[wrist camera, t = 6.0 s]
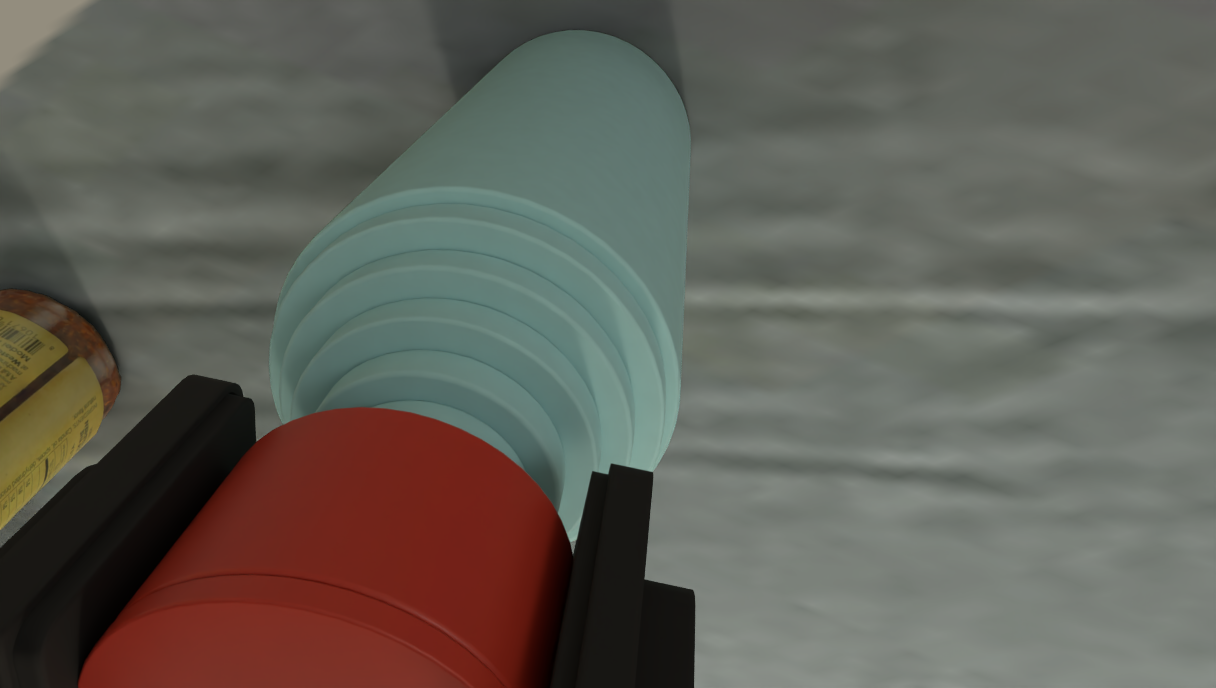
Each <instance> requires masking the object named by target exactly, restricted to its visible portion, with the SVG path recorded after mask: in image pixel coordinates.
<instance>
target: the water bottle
mask: <svg viewBox="0 0 1216 688" xmlns="http://www.w3.org/2000/svg"><path fill="white" fill-rule="evenodd" d="M690 155H691V136H690V126H689V122H688V118H687V113H686V110H685V108H684V105H683V102H682V100H681V97H680V95H679V94H678V92H677V90H676V88H675V86H674V84H673V83H672V82H671V80H670V79H669V77H668V76H667V75H666V73H665V72H664V71H663V70H662V69H661V68H660V67H659V66H658V65H657V63H656V62H655V61H654V60H652V59H651V58H650V57H649V56H647V55H646V54H645V53H644V52H642V51H641V50H639V49H638V48H636V47H634V46H633V45H631V44H630V43H628V42H625V41H623V40H621V39H619V38H616V37H614V36H610V35H607V34H603V33H600V32H593V31H586V30H566V31H559V32H553V33H549V34H546V35H543V36H539V37H537V38H535V39H532V40H530V41H528V42H526V43H524V44H522V45H521V46H519V47H518V48H516V49H515V50H513V51H512V52H511V53H510V54H508V55H507V56H506V57H505V58H504V59H503V60H501V61H500V62H499V63H498V64H497V65H496V66H495V67H494V68H493V69H492V70H491V71H490V72H489V73H488V74H487V75H486V76H484V77H483V78H482V79H481V80H480V81H479V82H478V83H477V84H476V85H475V86H474V87H473V88H472V89H471V90H470V91H469V92H467V93H466V94H465V95H464V96H463V97H462V98H461V99H460V100H459V101H458V102H457V103H456V104H455V105H454V106H453V107H452V108H451V109H449V110H448V111H447V112H446V113H445V114H444V115H443V116H442V117H441V118H440V119H439V120H438V121H437V122H436V123H435V124H434V125H433V126H431V127H430V128H429V129H428V130H427V131H426V132H425V133H424V134H423V135H422V136H421V137H420V138H419V139H418V140H417V141H416V142H414V143H413V144H412V145H411V146H410V147H409V148H408V149H407V150H406V151H405V152H404V153H403V154H402V155H401V156H400V157H399V158H398V159H396V160H395V161H394V162H393V163H392V164H391V165H390V166H389V167H388V168H387V169H386V170H385V171H384V172H383V173H382V174H381V175H379V176H378V177H377V178H376V179H375V180H374V181H373V182H372V183H371V184H370V185H369V186H368V187H367V188H366V189H365V190H364V191H363V192H361V193H360V194H359V195H358V196H357V197H356V198H355V199H354V200H353V201H352V202H351V203H350V204H349V205H348V206H347V207H346V208H344V209H343V210H342V211H341V212H340V213H339V214H338V215H337V216H336V217H335V218H334V219H333V220H332V221H331V222H330V223H329V224H328V225H326V226H325V227H324V228H323V229H322V230H321V231H320V232H319V233H318V234H317V235H316V236H315V237H314V238H313V239H312V240H311V242H310V243H309V244H308V245H307V246H306V248H305V249H304V250H303V251H302V252H301V253H300V255H299V256H298V258H297V260H296V261H295V263H294V265H293V266H292V268H291V270H290V271H289V273H288V275H287V277H286V280H285V283H284V285H283V288H282V290H281V293H280V295H279V299H278V304H277V309H276V313H275V318H274V326H273V331H272V336H271V340H270V352H269V373H270V383H271V390H272V394H273V398H274V402H275V406H276V410H277V412H278V415H279V417H280V420H281V422H282V425H284V424H286V423H288V422H290V421H292V420H295V419H298V418H301V417H304V416H307V415H310V414H313V413H316V412H322V411H327V410H332V409H338V408H353V407H371V408H387V409H394V410H400V411H406V412H412V413H416V414H419V415H423V416H427V417H431V418H434V419H437V420H440V421H443V422H445V423H448V424H450V425H453V426H456V427H458V428H461V429H463V430H465V431H467V432H469V433H470V434H472V435H474V436H476V437H478V438H480V439H482V440H484V441H485V442H487V443H489V444H490V445H492V446H493V447H495V448H496V449H498V450H499V451H501V452H503V453H504V454H505V455H506V456H508V457H509V458H510V459H511V460H513V461H514V462H515V463H516V464H518V465H519V466H520V467H521V468H522V469H523V470H524V471H525V472H526V473H527V474H528V475H529V476H530V477H531V478H532V479H533V480H534V481H535V482H536V483H537V484H538V485H539V486H540V488H541V489H542V490H543V492H544V493H545V494H546V496H547V497H548V498H549V500H550V501H551V502H552V504H553V506H554V508H555V509H556V511H557V513H558V515H559V516H560V518H561V520H562V523H563V525H564V528H565V530H566V533H567V535H568V538H569V540H570V542H572V541H574V540H577V536H578V531H579V527H580V522H581V518H582V514H583V509H584V505H585V500H586V496H587V491H588V487H589V482H590V478H591V474H592V471H595V472H599V473H604V474H608V472H609V468H610V465H611V463H613V464H617V465H622V466H627V467H632V468H636V469H641V470H646V471H650V472H653V470H654V469H655V468H656V467H657V465H658V464H659V462H660V460H661V458H662V456H663V454H664V453H665V451H666V449H667V447H668V445H669V442H670V440H671V437H672V434H673V431H674V428H675V426H676V421H677V416H678V410H679V405H680V390H681V367H682V343H683V320H684V296H685V273H686V249H687V226H688V202H689V179H690Z"/></svg>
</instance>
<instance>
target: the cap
mask: <svg viewBox="0 0 1216 688" xmlns="http://www.w3.org/2000/svg"><path fill="white" fill-rule="evenodd" d="M572 564H573V554H572V550H571V545H570V540H569V538H568V535H567V533H566V530H565V528H564V525H563V523H562V520H561V518H560V516H559V515H558V513H557V511H556V509H555V508H554V506H553V504H552V502H551V501H550V500H549V498H548V497H547V496H546V494H545V493H544V492H543V490H542V489H541V488H540V486H539V485H538V484H537V483H536V482H535V481H534V480H533V479H532V478H531V477H530V476H529V475H528V474H527V473H526V472H525V471H524V470H523V469H522V468H521V467H520V466H519V465H518V464H516V463H515V462H514V461H513V460H511V459H510V458H509V457H508V456H506V455H505V454H504V453H503V452H501V451H499V450H498V449H496V448H495V447H493V446H492V445H490V444H489V443H487V442H485V441H484V440H482V439H480V438H478V437H476V436H474V435H472V434H470V433H469V432H467V431H465V430H463V429H461V428H458V427H456V426H453V425H450V424H448V423H445V422H443V421H440V420H437V419H434V418H431V417H427V416H423V415H419V414H416V413H412V412H406V411H400V410H394V409H387V408H371V407H353V408H338V409H332V410H327V411H322V412H316V413H313V414H310V415H307V416H304V417H301V418H298V419H295V420H292V421H290V422H288V423H286V424H284V425H282V426H280V427H278V428H276V429H274V430H272V431H271V432H269V433H268V434H267V435H265V436H264V437H262V438H261V439H260V440H258V441H257V442H256V443H255V444H254V445H253V446H252V447H251V448H250V449H249V450H248V451H247V452H246V453H245V454H244V455H243V457H242V458H241V459H240V461H239V462H238V463H237V464H236V466H235V467H234V468H233V469H232V471H231V472H230V473H229V475H228V476H227V477H226V478H225V480H224V481H223V482H222V484H221V485H220V486H219V487H218V489H217V490H216V491H215V492H214V494H213V495H212V496H211V498H210V499H209V500H208V501H207V503H206V504H205V505H204V506H203V508H202V509H201V510H200V512H199V513H198V514H197V515H196V517H195V518H194V519H193V521H192V522H191V523H190V524H189V526H188V527H187V528H186V529H185V531H184V532H183V533H182V535H181V536H180V537H179V538H178V540H177V541H176V542H175V543H174V545H173V546H172V547H171V549H170V550H169V551H168V552H167V554H166V555H165V556H164V558H163V559H162V560H161V561H160V563H159V564H158V565H157V566H156V568H155V569H154V570H153V572H152V573H151V574H150V575H149V577H148V578H147V579H146V580H145V582H144V583H143V584H142V586H141V587H140V588H139V589H138V591H137V592H136V593H135V595H134V596H133V597H132V598H131V600H130V601H129V602H128V603H127V605H126V606H125V607H124V609H123V610H122V611H121V612H120V614H119V615H118V616H117V618H116V620H115V621H114V622H113V623H112V624H111V625H110V626H109V628H108V629H107V630H106V632H105V633H104V634H103V635H102V637H101V638H100V639H99V640H98V642H97V643H96V644H95V646H94V647H93V649H92V650H91V652H90V653H89V655H88V657H87V658H86V660H85V661H84V664H83V667H82V670H81V673H80V676H79V679H78V688H549V684H550V679H551V674H552V668H553V663H554V658H555V653H556V648H557V642H558V637H559V632H560V627H561V622H562V616H563V611H564V606H565V601H566V596H567V590H568V585H569V580H570V575H571V570H572Z"/></svg>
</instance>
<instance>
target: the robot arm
mask: <svg viewBox="0 0 1216 688" xmlns="http://www.w3.org/2000/svg"><path fill="white" fill-rule="evenodd" d="M255 443H256V430H255V407H254V403H253V401H252V399H250V398H246V397H243V393H242V389H241V387H240V386H239V385H238V384H236V383H231V382H227V381H222V380H217V379H213V378H208V377H203V376H198V375H189V376H187V377H186V378H184V379H183V380H182V381H181V382H180V383H179V384H178V385H177V386H176V387H175V388H174V389H173V390H172V391H171V392H170V393H169V394H168V395H167V396H166V397H165V398H164V399H162V400H161V401H160V402H159V403H158V404H157V405H156V406H155V407H154V408H153V409H152V410H151V411H150V412H149V413H148V414H147V415H146V416H145V417H144V418H143V419H142V420H141V421H140V422H139V423H138V424H137V425H136V426H135V427H134V428H133V429H132V430H131V431H130V432H129V433H128V434H127V435H126V436H125V437H124V438H123V439H122V440H121V441H120V442H119V443H118V444H117V445H116V446H115V447H114V448H113V449H112V450H111V451H110V452H109V453H107V454H106V455H105V456H104V457H103V458H102V459H101V460H100V461H99V462H98V463H97V464H94V465H91V466H88V467H86V468H85V469H83V470H82V471H81V472H79V473H78V474H77V475H75V476H74V477H73V478H72V479H71V480H70V481H69V482H68V483H67V484H66V485H65V486H64V487H63V488H62V489H61V490H60V491H59V492H58V493H57V494H56V495H55V496H54V497H53V498H52V499H51V500H50V501H49V502H48V503H46V504H45V505H44V506H43V507H42V508H41V509H40V510H39V511H38V512H37V513H36V514H35V515H34V516H33V517H32V518H31V519H30V520H29V521H28V522H27V523H26V524H25V525H24V526H23V527H22V528H21V529H20V530H19V531H18V532H16V533H15V534H14V535H13V536H12V537H11V538H10V539H9V540H8V541H7V542H6V543H5V544H4V545H3V546H2V547H1V548H0V688H78V679H79V676H80V673H81V670H82V667H83V664H84V661H85V660H86V658H87V657H88V655H89V653H90V652H91V650H92V649H93V647H94V646H95V644H96V643H97V642H98V640H99V639H100V638H101V637H102V635H103V634H104V633H105V632H106V630H107V629H108V628H109V626H110V625H111V624H112V623H113V622H114V621H115V620H116V618H117V616H118V615H119V614H120V612H121V611H122V610H123V609H124V607H125V606H126V605H127V603H128V602H129V601H130V600H131V598H132V597H133V596H134V595H135V593H136V592H137V591H138V589H139V588H140V587H141V586H142V584H143V583H144V582H145V580H146V579H147V578H148V577H149V575H150V574H151V573H152V572H153V570H154V569H155V568H156V566H157V565H158V564H159V563H160V561H161V560H162V559H163V558H164V556H165V555H166V554H167V552H168V551H169V550H170V549H171V547H172V546H173V545H174V543H175V542H176V541H177V540H178V538H179V537H180V536H181V535H182V533H183V532H184V531H185V529H186V528H187V527H188V526H189V524H190V523H191V522H192V521H193V519H194V518H195V517H196V515H197V514H198V513H199V512H200V510H201V509H202V508H203V506H204V505H205V504H206V503H207V501H208V500H209V499H210V498H211V496H212V495H213V494H214V492H215V491H216V490H217V489H218V487H219V486H220V485H221V484H222V482H223V481H224V480H225V478H226V477H227V476H228V475H229V473H230V472H231V471H232V469H233V468H234V467H235V466H236V464H237V463H238V462H239V461H240V459H241V458H242V457H243V455H244V454H245V453H246V452H247V451H248V450H249V449H250V448H251V447H252V446H253V445H254V444H255ZM652 486H653V472H650V471H646V470H641V469H636V468H632V467H627V466H622V465H617V464H613V463H611V465H610V468H609V472H608V474H604V473H599V472H595V471H592V474H591V478H590V482H589V487H588V491H587V496H586V500H585V505H584V509H583V514H582V518H581V522H580V527H579V531H578V536H577V540H576V545H575V549H574V554H573V564H572V570H571V575H570V580H569V585H568V590H567V596H566V601H565V606H564V611H563V616H562V622H561V627H560V632H559V637H558V642H557V648H556V653H555V658H554V663H553V668H552V674H551V679H550V684H549V688H694V654H695V595H694V591H693V590H691V589H686V588H682V587H677V586H672V585H668V584H663V583H658V582H654V581H649V580H644V577H645V566H646V554H647V543H648V532H649V520H650V509H651V498H652Z"/></svg>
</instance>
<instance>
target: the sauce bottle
mask: <svg viewBox="0 0 1216 688" xmlns="http://www.w3.org/2000/svg"><path fill="white" fill-rule="evenodd" d="M120 387H121V376H120V374H119V372H118V368H117V365H116V362H115V360H114V358H113V356H112V354H111V353H110V351H109V350H108V347H107V345H106V343H105V342H104V340H103V339H102V337H101V335H100V334H99V333H98V332H97V331H96V329H95V328H94V326H93V325H91V324H90V323H89V322H87V321H86V320H85V319H84V318H83V317H81V316H80V315H79V314H78V313H77V311H74V310H72V309H70V308H68V307H67V306H65V305H62V304H60V303H58V302H57V301H55V300H54V299H52V298H51V297H48V296H46V295H43V294H37V293H34V292H32V291H28V290H17V289H12V288H11V289H6V290H0V530H1V529H2V528H3V527H4V526H5V525H6V524H7V523H8V522H9V521H10V520H11V519H12V518H13V517H14V516H15V514H16V513H17V512H18V511H19V510H20V509H21V508H22V507H23V506H24V505H25V504H26V503H27V502H28V501H29V500H30V499H31V498H32V497H33V496H34V495H35V494H36V493H37V492H38V491H39V490H41V489H42V488H43V487H44V486H45V485H46V484H47V483H48V482H49V481H50V480H51V479H52V478H53V477H54V476H55V475H56V474H57V473H58V472H59V470H60V469H61V468H62V467H63V466H64V465H65V464H66V463H67V462H68V461H69V460H70V459H71V458H72V457H73V456H74V455H75V454H76V453H77V452H78V451H79V450H80V449H81V448H82V447H83V446H84V445H85V444H86V443H87V442H88V441H89V440H90V439H91V438H92V437H93V436H94V435H95V434H96V433H97V431H98V428H99V426H100V424H101V421H102V419H104V418H105V417H106V416H107V413H108V412H109V411H110V409H111V408H112V406H113V404H114V402H115V399H116V397H117V395H118V394H119V391H120Z"/></svg>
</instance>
